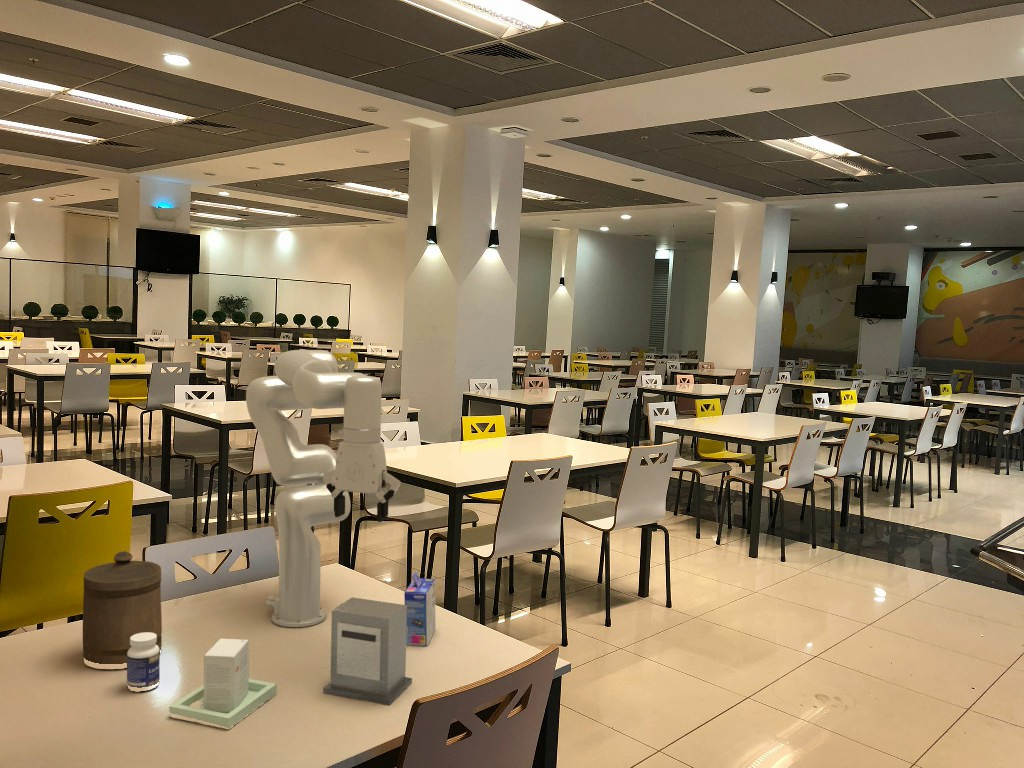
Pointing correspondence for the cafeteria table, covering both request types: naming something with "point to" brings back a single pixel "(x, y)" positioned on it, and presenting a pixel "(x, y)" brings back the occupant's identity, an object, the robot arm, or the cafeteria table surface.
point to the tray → (252, 700)
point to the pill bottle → (143, 660)
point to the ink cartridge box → (420, 611)
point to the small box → (226, 675)
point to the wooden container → (120, 607)
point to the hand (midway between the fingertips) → (360, 518)
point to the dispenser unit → (368, 651)
